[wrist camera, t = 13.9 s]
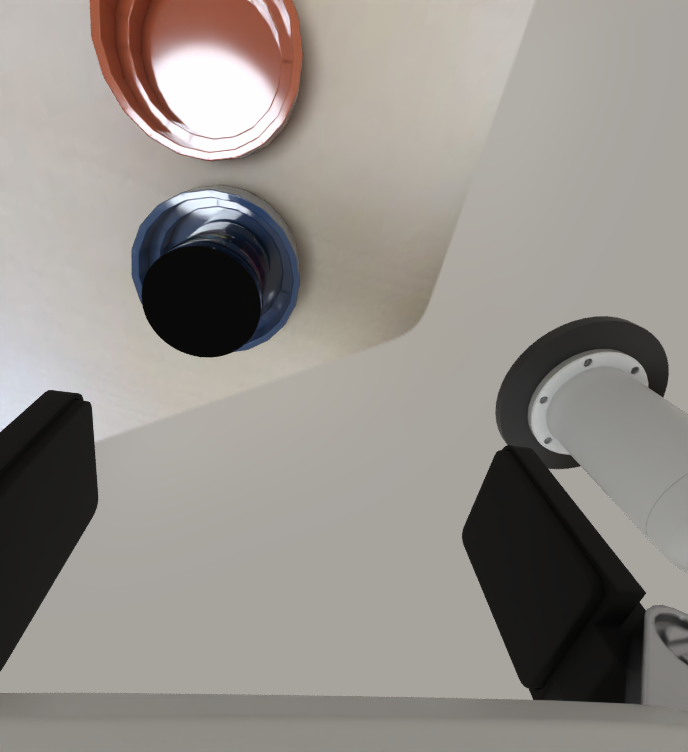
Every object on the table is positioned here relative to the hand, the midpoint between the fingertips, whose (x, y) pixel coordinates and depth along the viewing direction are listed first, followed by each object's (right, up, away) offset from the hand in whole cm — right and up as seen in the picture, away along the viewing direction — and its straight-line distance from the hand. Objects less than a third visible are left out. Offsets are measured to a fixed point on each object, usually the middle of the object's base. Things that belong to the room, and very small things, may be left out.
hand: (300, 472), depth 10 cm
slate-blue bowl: (-8, +11, +24) cm, 28 cm away
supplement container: (-8, +11, +24) cm, 28 cm away
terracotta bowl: (-8, +23, +18) cm, 30 cm away
